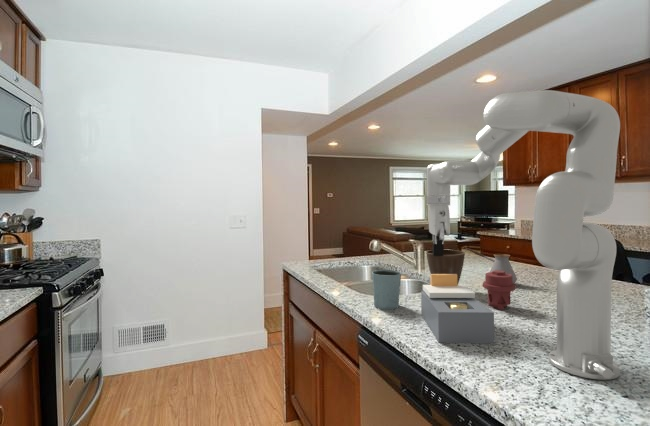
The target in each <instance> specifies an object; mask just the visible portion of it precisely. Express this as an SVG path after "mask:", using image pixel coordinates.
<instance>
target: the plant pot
mask: <svg viewBox="0 0 650 426" xmlns="http://www.w3.org/2000/svg"><path fill="white" fill-rule="evenodd" d="M425 253H426V260H427V265H428V270H429V274H457V285H459V282H460V279H461V276H462V272H463V268H464V263H465V262H464V261H465V256H466V255H465V254H466V252H465V251H464V250H463V251H462V250H458V249H445V248H444V255H443V256H434V255H433V249H430V250H427V251H426V252H425Z"/></svg>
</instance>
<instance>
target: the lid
mask: <svg viewBox="0 0 650 426" xmlns="http://www.w3.org/2000/svg"><path fill="white" fill-rule="evenodd" d="M429 274H430V273H429ZM429 279H430V280H429V281H430V284H422V291H424V292H425V293H426V294H427V295H428V296H429V298H476V292H475V291H473V290H472V289H471V288H469V287H468V286H467V285H465V284H458V285H457V274H430V278H429Z"/></svg>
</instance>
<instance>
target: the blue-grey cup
mask: <svg viewBox="0 0 650 426" xmlns="http://www.w3.org/2000/svg"><path fill="white" fill-rule="evenodd" d="M371 276H372V277H371V278H372V286H373V287H372V290H373V291H372V292H373V305H374V307H375V308H376V309H379V310H386V311H387V310H395V309H398V308H399V306H400V304H399V303H400V291H401V290H400V287H401V281H402V272H400V271H398V270H392V269H377V270H373V271H371Z"/></svg>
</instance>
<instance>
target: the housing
mask: <svg viewBox="0 0 650 426" xmlns="http://www.w3.org/2000/svg"><path fill="white" fill-rule="evenodd" d="M420 298H421V299H420V304H421V306H420V308H421V310H420V314H421V317H422V319H423V320H424V322H425V323H426V325H427V326H428V328H429V330H430V331H431V333H432V335H433V336H434V337H435V339H436V340H437V342H438V343H440V344H441V343H442V344H447V343H448V344H450V343H452V344H454V343H455V344H495V312H494V311H492V309H490V308H489V307H487V306H486V305H485V304H484V303H483V302H481V301H480V300H478V299H477V298H476V297H475V298H429V296H428V295H427V294H426V293H425V292H424V290H420ZM452 303H462V304H465V305H467V309H450V304H452Z"/></svg>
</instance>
